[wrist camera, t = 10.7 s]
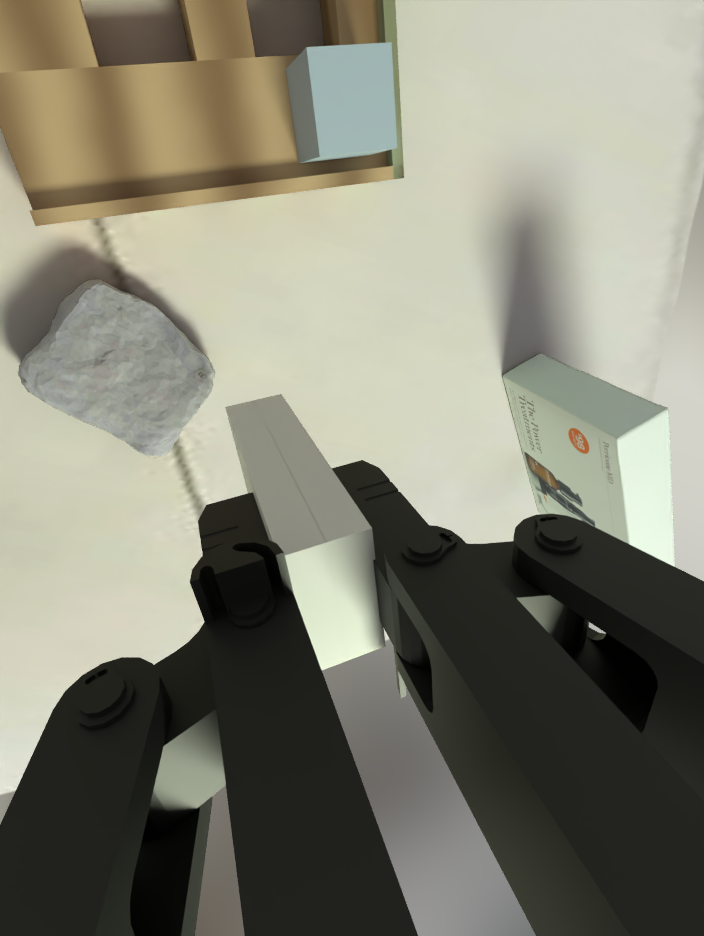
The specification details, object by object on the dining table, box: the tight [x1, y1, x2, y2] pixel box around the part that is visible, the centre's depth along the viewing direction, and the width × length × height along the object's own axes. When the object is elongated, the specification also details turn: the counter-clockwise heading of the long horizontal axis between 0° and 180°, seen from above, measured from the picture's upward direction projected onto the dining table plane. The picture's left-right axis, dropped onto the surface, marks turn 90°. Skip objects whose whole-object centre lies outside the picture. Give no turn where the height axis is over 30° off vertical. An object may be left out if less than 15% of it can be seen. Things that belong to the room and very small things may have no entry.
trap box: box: [0, 0, 404, 226], centre depth 30 cm, size 24×14×4 cm, turn 97°
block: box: [286, 42, 397, 163], centre depth 30 cm, size 5×5×5 cm
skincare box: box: [503, 353, 675, 567], centre depth 49 cm, size 21×6×16 cm, turn 25°
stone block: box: [18, 279, 215, 457], centre depth 37 cm, size 12×5×10 cm
